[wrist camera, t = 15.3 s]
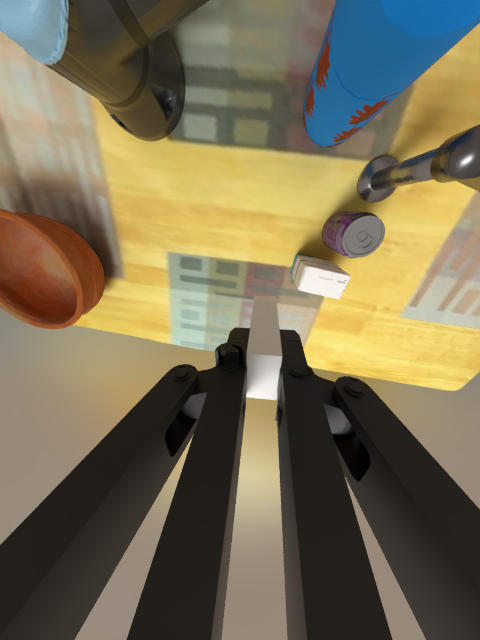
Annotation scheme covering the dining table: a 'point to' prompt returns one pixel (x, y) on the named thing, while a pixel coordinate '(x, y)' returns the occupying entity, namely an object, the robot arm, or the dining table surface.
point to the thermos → (377, 58)
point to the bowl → (46, 271)
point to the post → (392, 175)
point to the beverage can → (353, 233)
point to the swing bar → (459, 159)
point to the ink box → (319, 276)
